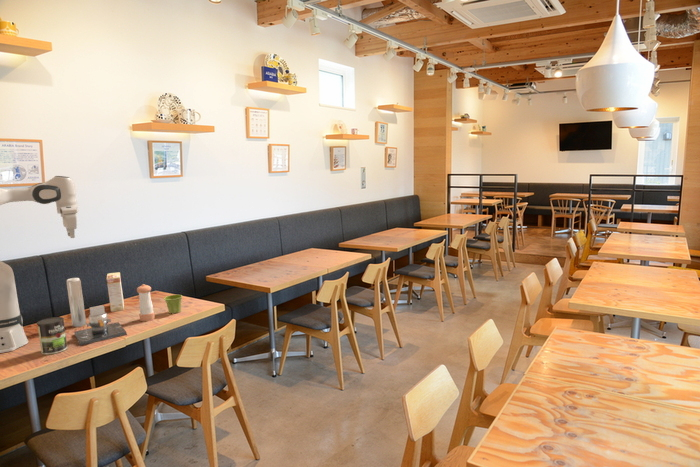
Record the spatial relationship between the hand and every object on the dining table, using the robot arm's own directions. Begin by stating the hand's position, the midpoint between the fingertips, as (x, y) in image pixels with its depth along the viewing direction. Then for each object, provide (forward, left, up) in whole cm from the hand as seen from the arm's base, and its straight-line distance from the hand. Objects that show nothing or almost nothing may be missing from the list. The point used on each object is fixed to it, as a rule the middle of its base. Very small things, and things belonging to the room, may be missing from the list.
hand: (71, 237), depth 235 cm
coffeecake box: (+21, +30, -48) cm, 60 cm away
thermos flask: (-1, +10, -48) cm, 49 cm away
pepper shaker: (+29, -6, -48) cm, 57 cm away
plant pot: (+44, -4, -48) cm, 66 cm away
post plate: (+5, -14, -48) cm, 50 cm away
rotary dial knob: (+5, -17, -43) cm, 46 cm away
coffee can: (-15, -22, -48) cm, 55 cm away
